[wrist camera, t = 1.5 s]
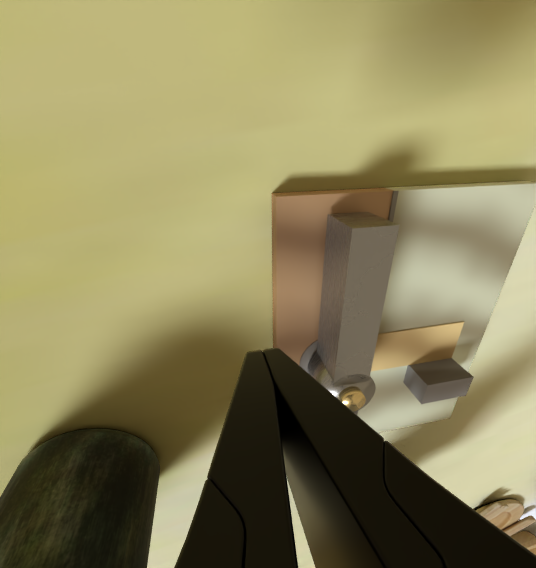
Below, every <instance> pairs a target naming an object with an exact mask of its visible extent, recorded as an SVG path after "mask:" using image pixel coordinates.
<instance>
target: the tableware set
mask: <svg viewBox="0 0 536 568" xmlns="http://www.w3.org/2000/svg"><path fill="white" fill-rule="evenodd" d="M475 511H476V512H478V513H479V514H480V515H482V516H483V517H484V518H486V519H487V520H489V521H490V522H491V523H493V524H494V525H495V526H497V527H498V528H499V529H501V530H502V531H504V532H505V533H506V534H508V535H509V536H510V537H512V538H513V539H515V540H516V541H517V542H519V543H520V544H521V545H523V546H524V547H525V548H527V549H528V550H530V551H531V552H532V553H534V554H535V555H536V536H534V535H533V534H531V533H530V532H528V531H521V532H518V531H520V530H522V529H524V528H526V527H527V526H529V525H531V524H533V523H534V522H536V520H535V519H534V517H533V516H528V517H526V518H524V519H522V520H520V517H521V516H522V514H523V512H524V506H523V505H522V504H521V503H520V502H519V501H517V500H513V499H506V500H501V501H497V502H493V503H491V504H488V505H486V506H483V507H481V508H479V509H477V510H475ZM518 520H519V521H518ZM516 532H518V533H516Z"/></svg>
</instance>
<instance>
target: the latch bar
mask: <svg viewBox="0 0 536 568" xmlns="http://www.w3.org/2000/svg"><path fill="white" fill-rule="evenodd" d="M398 230H399V225H398V224H396V223H393V222H391V221H389V220H386V219H384V218H382V217H379V216H377V215H375V214H372V213H370V212H352V213H337V214H328V215H327V227H326V240H325V253H324V265H323V278H322V291H321V303H320V316H319V329H318V341H317V352H316V353H315V354H314V355H313V356H312V357H311V359H310V361H309V363H308V373H309V374H310V375H311V376H312V377H313V378H314V379H316V380H317V381H318V382H319V383H320V384H321V385H322V386H324V387H325V388H326V389H327V390H328V391H329V392H331V393H332V394H333V395H334V396H335V397H336V398H338V399H339V400H340V401H341V402H342V403H343V404H345V405H346V406H347V407H348V408H349V409H350V410H352V411H353V412H356V411H358V410H360V409H362V408H363V407H364V406H366V405H367V404H368V403H369V402H370V400H371V399H372V397H373V396H374V393H375V389H376V387H375V383H374V381H373V379H372V378H371V376H370V373H371V368H372V363H373V358H374V353H375V348H376V343H377V338H378V332H379V327H380V322H381V317H382V312H383V307H384V302H385V297H386V292H387V287H388V281H389V276H390V271H391V266H392V261H393V256H394V251H395V246H396V241H397V236H398Z"/></svg>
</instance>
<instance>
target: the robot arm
mask: <svg viewBox="0 0 536 568" xmlns="http://www.w3.org/2000/svg"><path fill="white" fill-rule="evenodd" d="M286 475H287V478H286ZM207 478H208V479H207V480H206V481H205V484H204V487H203V490H202V494H201V497H200V500H199V503H198V506H197V509H196V512H195V514H194V517H193V520H192V523H191V526H190V529H189V532H188V534H187V537H186V540H185V543H184V545H183V547H182V550H181V552H180V555H179V557H178V560H177V562H176V565H175V567H174V568H298V563H297V555H296V548H295V540H294V532H293V524H292V517H291V509H290V501H289V494H288V486H287V479H288V482H289V485H290V488H291V491H292V494H293V498H294V501H295V504H296V507H297V510H298V514H299V517H300V520H301V523H302V526H303V529H304V533H305V536H306V539H307V542H308V545H309V548H310V552H311V555H312V558H313V561H314V564H315V568H536V555H535V554H534V553H532V552H531V551H530V550H528V549H527V548H525V547H524V546H523V545H521V544H520V543H519V542H517V541H516V540H515V539H513V538H512V537H510V536H509V535H508V534H506V533H505V532H504V531H502V530H501V529H499V528H498V527H497V526H495V525H494V524H493V523H491V522H490V521H489V520H487V519H486V518H484V517H483V516H482V515H480V514H479V513H478V512H476V511H475V510H473V509H472V508H471V507H469V506H468V505H467V504H465V503H464V502H463V501H461V500H460V499H459V498H457V497H456V496H455V495H453V494H452V493H451V492H449V491H448V490H447V489H445V488H444V487H443V486H442V485H440V484H439V483H438V482H436V481H435V480H434V479H432V478H431V477H430V476H429V475H427V474H426V473H425V472H424V471H422V470H421V469H420V468H419V467H418V466H416V465H415V464H414V463H413V462H411V461H410V460H409V459H408V458H407V457H405V456H404V455H403V454H402V453H401V452H399V451H398V450H397V449H396V448H395V447H394V446H393V445H391V444H390V443H389V442H388V441H384V438H383V437H382V436H381V435H379V434H378V433H377V432H376V431H375V430H374V429H373V428H371V427H370V426H369V425H368V424H367V423H366V422H364V421H363V420H362V419H361V418H360V417H359V416H357V415H356V414H355V413H354V412H353V411H352V410H350V409H349V408H348V407H347V406H346V405H345V404H343V403H342V402H341V401H340V400H339V399H338V398H336V397H335V396H334V395H333V394H332V393H331V392H329V391H328V390H327V389H326V388H325V387H324V386H322V385H321V384H320V383H319V382H318V381H317V380H316V379H314V378H313V377H312V376H311V375H310V374H309V373H307V372H306V371H305V370H304V369H303V368H302V367H300V366H299V365H298V364H297V363H296V362H295V361H293V360H292V359H291V358H290V357H289V356H288V355H286V354H285V353H284V352H283V351H282V350H281V349H279V348H271V349H265V350H264V351H263V352H262V351H261V350H257V351H250V352H247V353H246V355H245V359H244V362H243V365H242V368H241V371H240V374H239V377H238V381H237V384H236V387H235V390H234V393H233V396H232V400H231V403H230V406H229V409H228V412H227V415H226V419H225V422H224V425H223V428H222V431H221V434H220V437H219V441H218V444H217V447H216V450H215V453H214V456H213V460H212V463H211V466H210V469H209V472H208V476H207Z"/></svg>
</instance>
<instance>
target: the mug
mask: <svg viewBox="0 0 536 568" xmlns="http://www.w3.org/2000/svg"><path fill="white" fill-rule="evenodd" d="M159 473H160V465H159V461H158V459H157V457H156V455H155V453H154V451H153V450H152V449H151V447H150V446H149V445H148V444H147V443H146V442H144V441H143V440H141V439H140V438H138V437H136V436H134V435H131V434H129V433H125V432H121V431H117V430H111V429H84V430H78V431H73V432H69V433H65V434H62V435H59V436H57V437H54V438H52V439H50V440H48V441H46V442H44V443H43V444H41V445H40V446H38V447H37V448H36V449H34V450H33V451H31V452H30V453H29V454H28V455H27V456H26V457H25V458H24V459H23V460H22V461H21V463H20V464H19V466H18V467H17V469H16V471H15V473H14V474H13V476H12V478H11V480H10V481H9V483H8V485H7V487H6V488H5V490H4V492H3V493H2V495H1V497H0V568H147V562H148V555H149V548H150V540H151V533H152V525H153V518H154V511H155V503H156V496H157V488H158V481H159Z"/></svg>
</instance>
